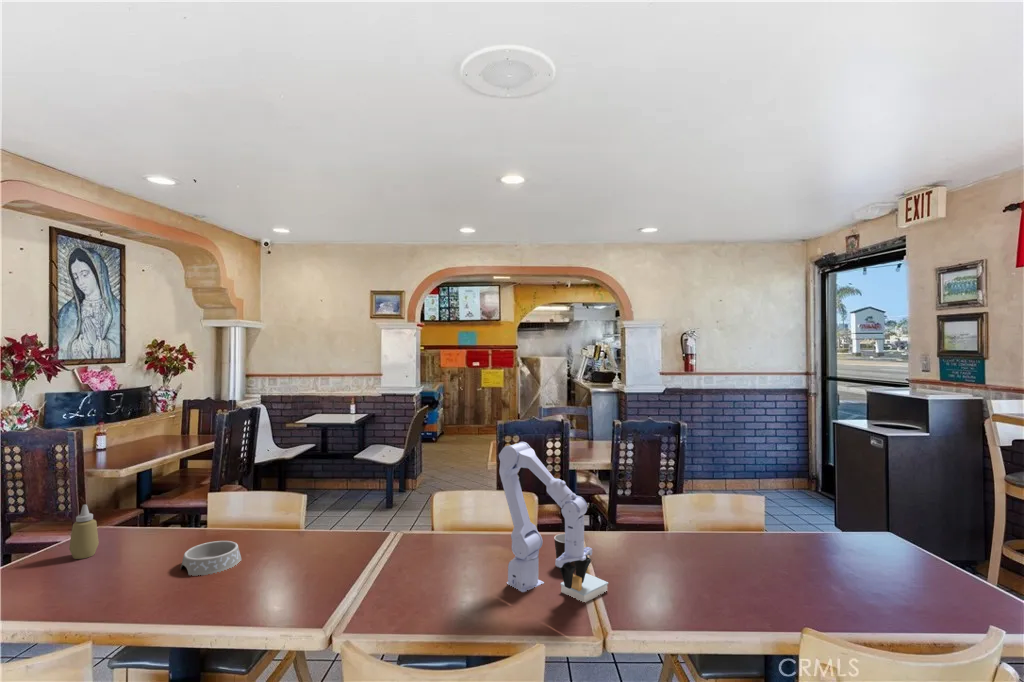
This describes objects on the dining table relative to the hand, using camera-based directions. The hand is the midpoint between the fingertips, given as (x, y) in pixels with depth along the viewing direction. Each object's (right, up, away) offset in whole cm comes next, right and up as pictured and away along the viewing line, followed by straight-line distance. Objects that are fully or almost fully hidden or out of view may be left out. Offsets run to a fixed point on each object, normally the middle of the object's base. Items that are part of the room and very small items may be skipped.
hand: (574, 584), depth 156 cm
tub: (+4, -4, +3) cm, 6 cm away
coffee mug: (+1, -4, +22) cm, 23 cm away
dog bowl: (-121, -4, +22) cm, 123 cm away
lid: (+4, -2, +3) cm, 5 cm away
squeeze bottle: (-169, -3, +27) cm, 172 cm away
